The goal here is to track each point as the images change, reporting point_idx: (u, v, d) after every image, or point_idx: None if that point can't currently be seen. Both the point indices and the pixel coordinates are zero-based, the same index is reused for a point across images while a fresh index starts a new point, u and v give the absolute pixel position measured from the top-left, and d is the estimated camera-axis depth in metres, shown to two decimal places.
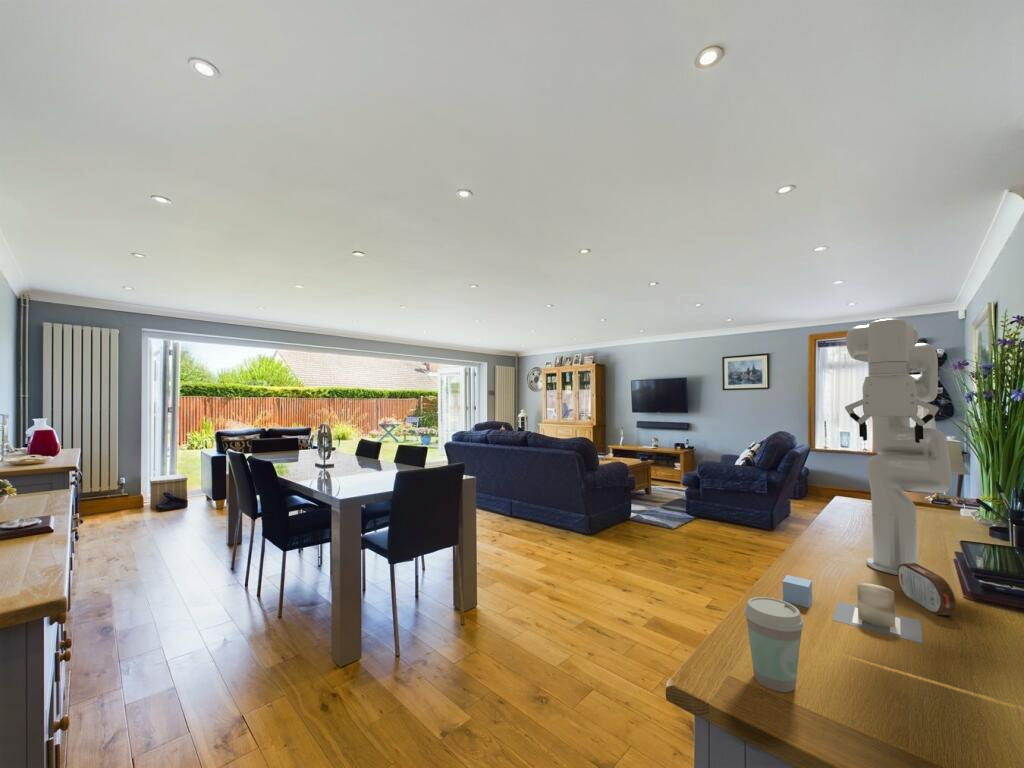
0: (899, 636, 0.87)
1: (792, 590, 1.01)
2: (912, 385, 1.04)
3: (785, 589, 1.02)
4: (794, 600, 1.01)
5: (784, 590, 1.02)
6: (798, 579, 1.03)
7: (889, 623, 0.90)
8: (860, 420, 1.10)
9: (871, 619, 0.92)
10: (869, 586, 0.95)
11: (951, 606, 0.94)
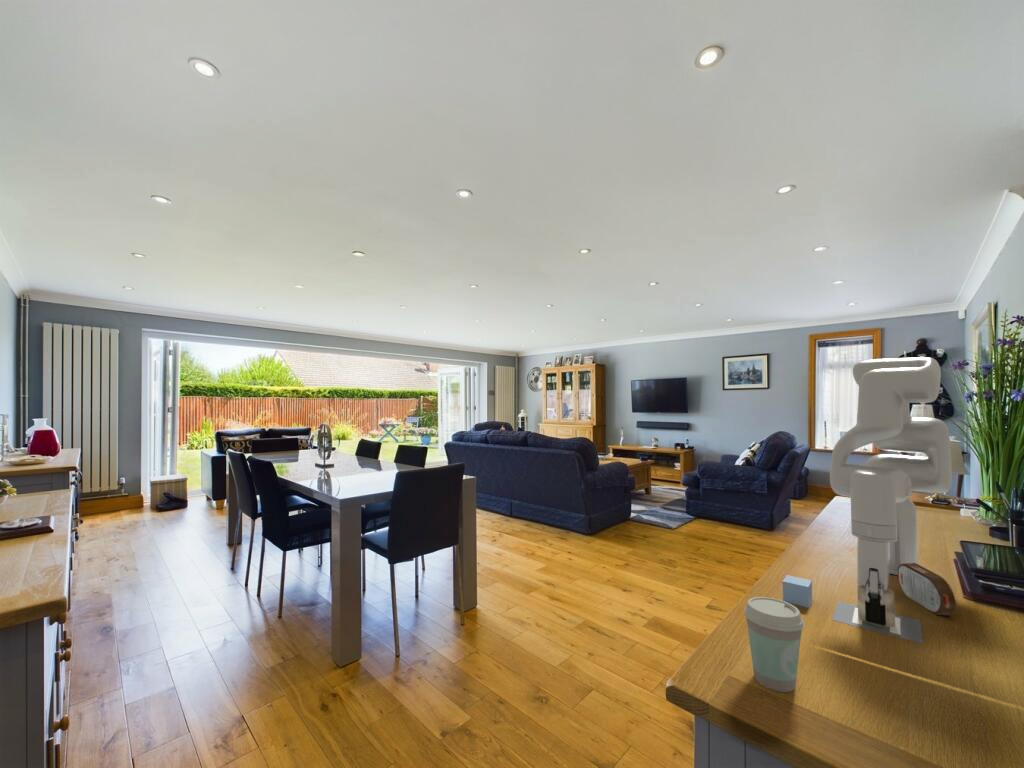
0: (899, 636, 0.87)
1: (792, 590, 1.01)
2: None
3: (785, 589, 1.02)
4: (794, 600, 1.01)
5: (784, 590, 1.02)
6: (798, 579, 1.03)
7: (889, 623, 0.90)
8: (882, 601, 0.90)
9: None
10: None
11: (951, 606, 0.94)
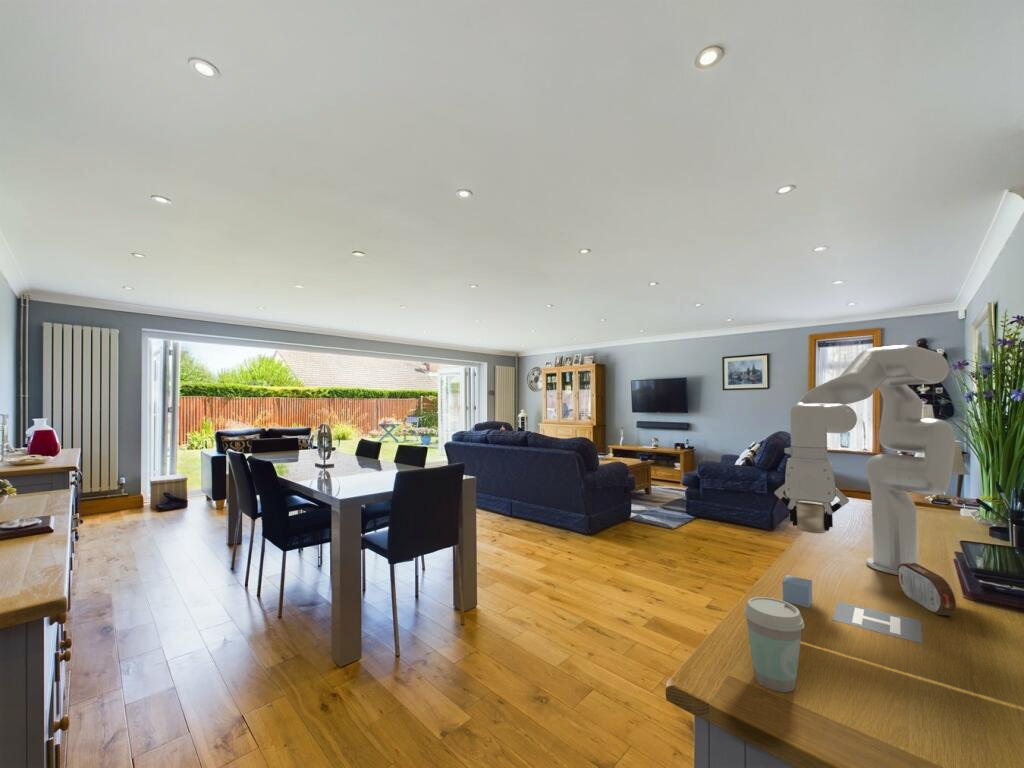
0: (899, 636, 0.87)
1: (792, 590, 1.01)
2: None
3: (785, 589, 1.02)
4: (794, 600, 1.01)
5: (784, 590, 1.02)
6: (798, 579, 1.03)
7: None
8: None
9: (824, 528, 1.08)
10: (804, 503, 1.10)
11: (951, 606, 0.94)
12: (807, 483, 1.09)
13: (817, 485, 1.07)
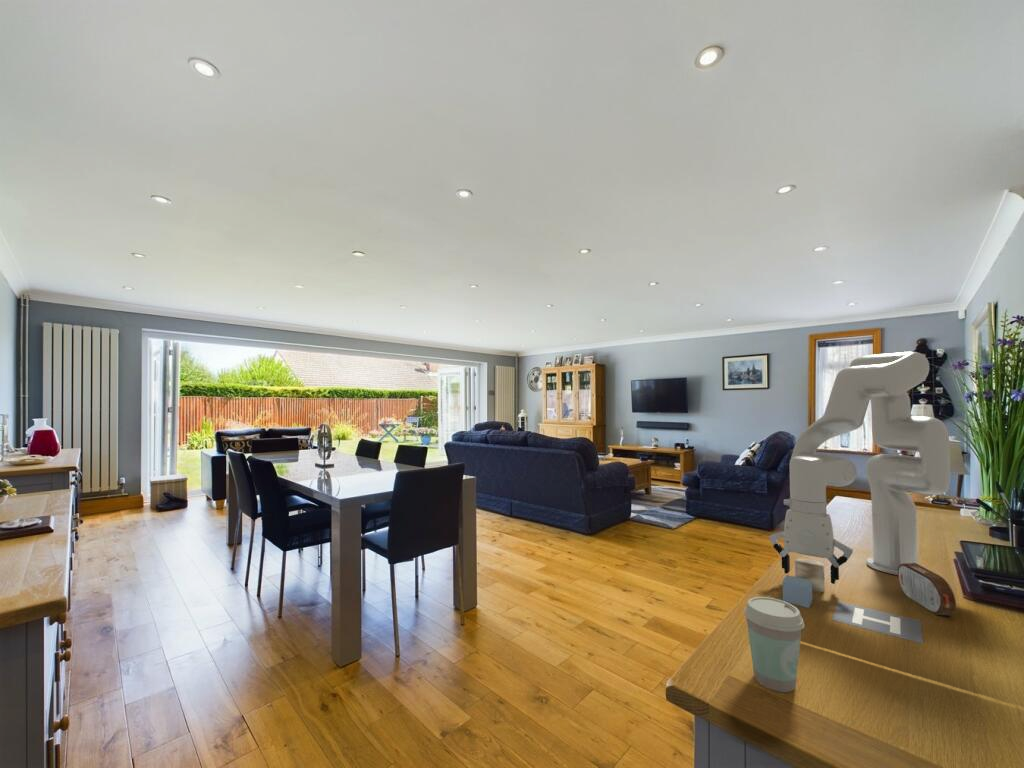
0: (899, 636, 0.87)
1: (792, 590, 1.01)
2: None
3: (785, 589, 1.02)
4: (794, 600, 1.01)
5: (784, 590, 1.02)
6: (798, 579, 1.03)
7: None
8: None
9: (823, 589, 1.08)
10: (803, 562, 1.10)
11: (951, 606, 0.94)
12: (806, 537, 1.09)
13: (816, 540, 1.07)
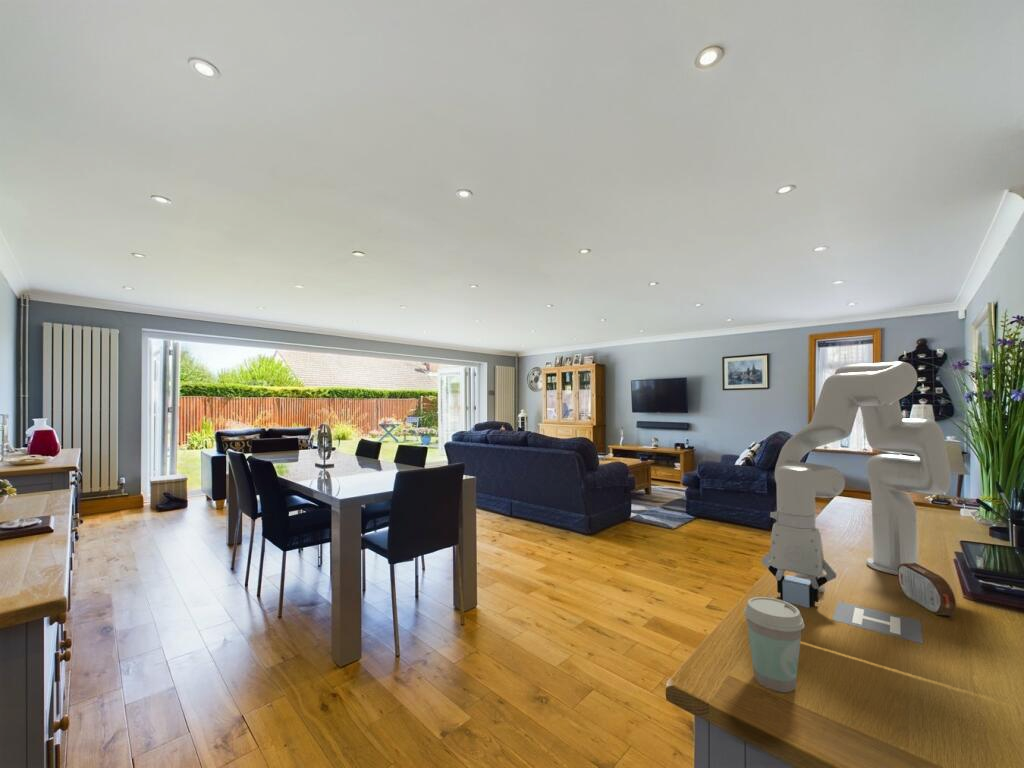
0: (899, 636, 0.87)
1: (792, 590, 1.01)
2: None
3: (785, 589, 1.02)
4: (794, 600, 1.01)
5: (784, 590, 1.02)
6: (798, 579, 1.03)
7: None
8: None
9: (823, 589, 1.08)
10: None
11: (951, 606, 0.94)
12: (793, 554, 1.01)
13: (804, 556, 1.00)
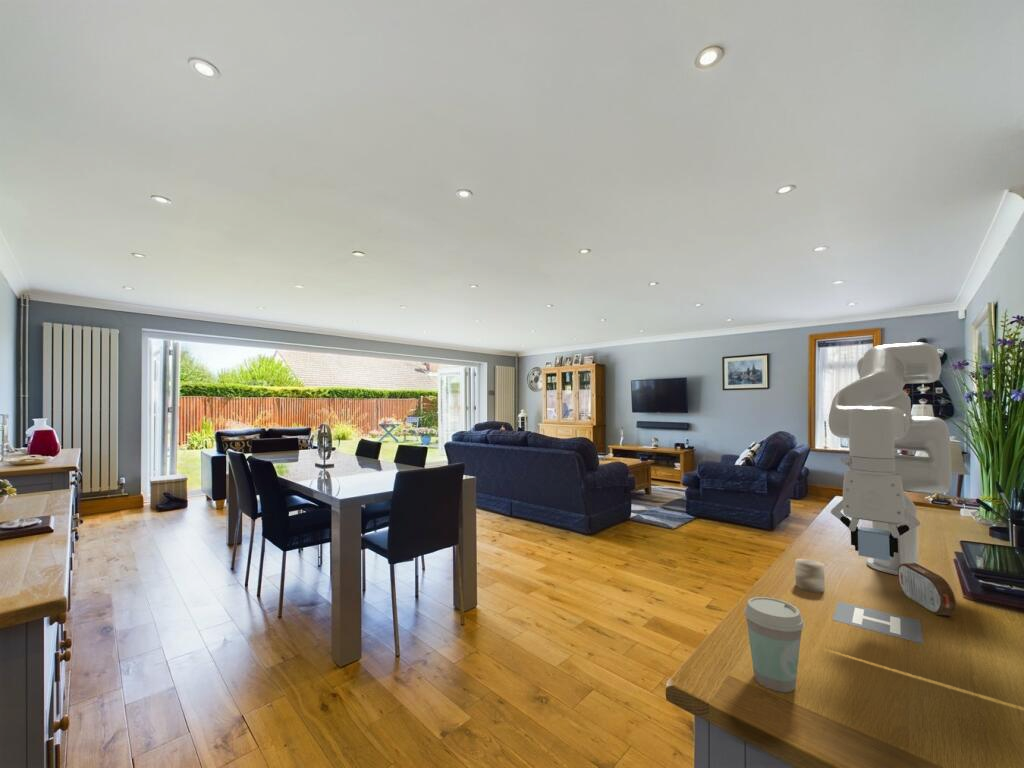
0: (899, 636, 0.87)
1: (869, 540, 0.93)
2: None
3: (861, 540, 0.93)
4: (872, 551, 0.92)
5: (860, 541, 0.94)
6: (874, 530, 0.95)
7: None
8: None
9: (823, 589, 1.08)
10: (803, 562, 1.10)
11: (951, 606, 0.94)
12: (871, 500, 0.92)
13: (884, 503, 0.91)
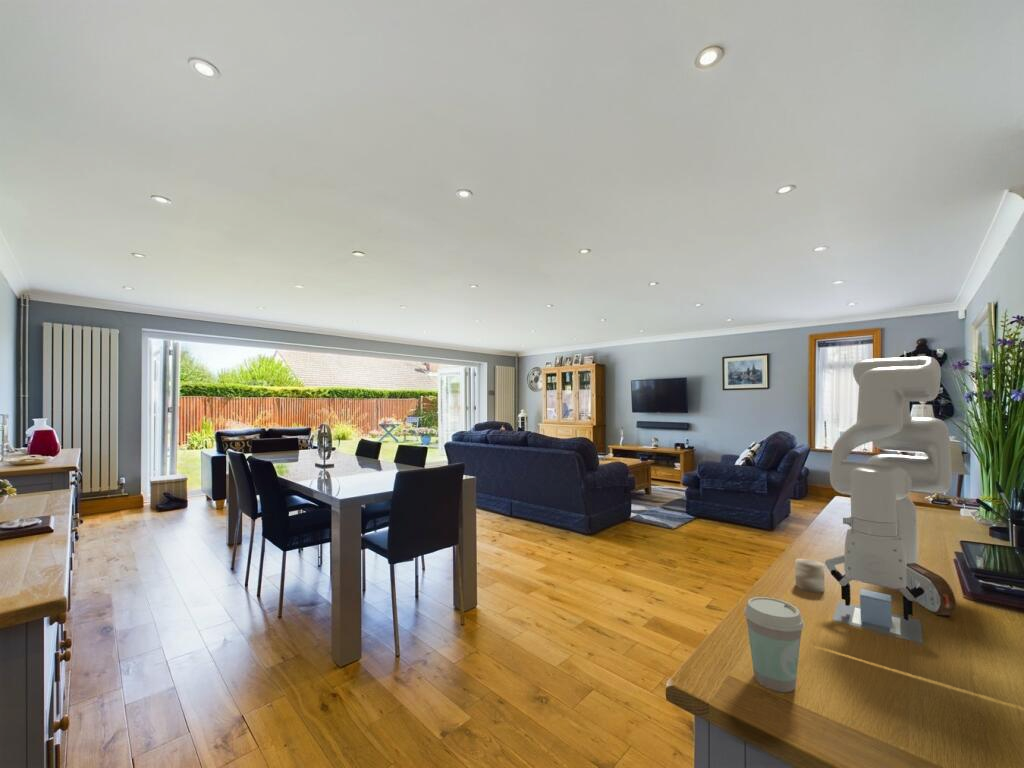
0: (899, 636, 0.87)
1: (872, 606, 0.92)
2: None
3: (863, 605, 0.93)
4: (874, 618, 0.92)
5: (862, 606, 0.93)
6: (876, 594, 0.94)
7: None
8: None
9: (823, 589, 1.08)
10: (803, 562, 1.10)
11: (951, 606, 0.94)
12: (872, 564, 0.92)
13: (885, 567, 0.91)
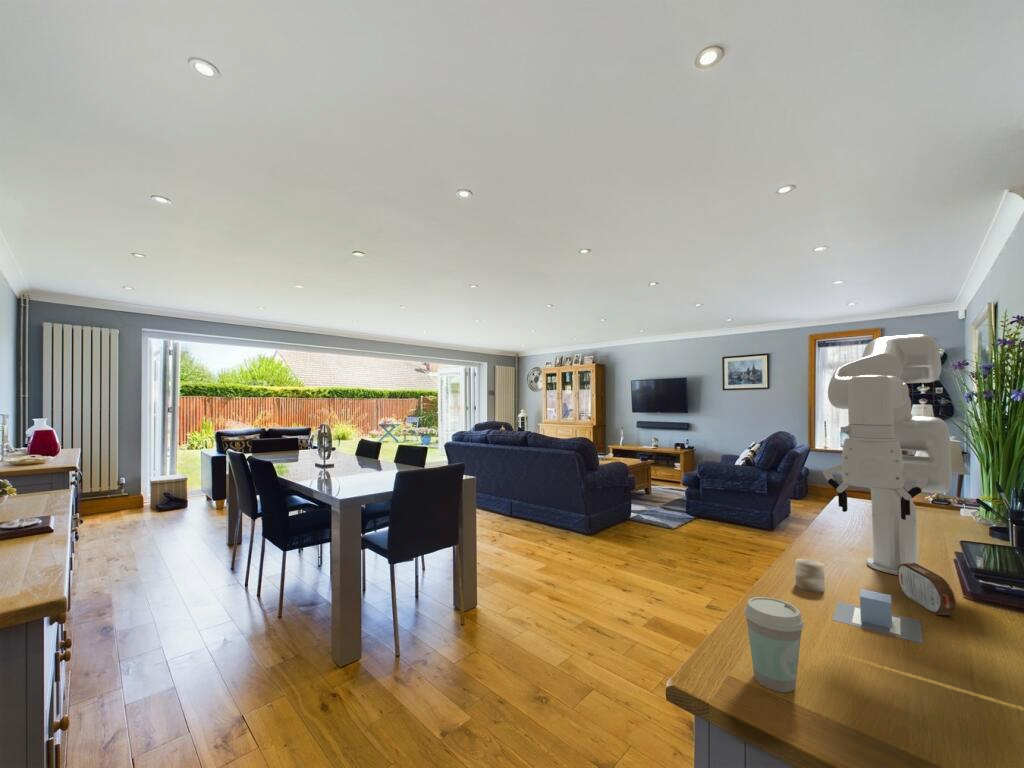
0: (899, 636, 0.87)
1: (872, 606, 0.92)
2: None
3: (863, 605, 0.93)
4: (874, 618, 0.92)
5: (862, 606, 0.93)
6: (876, 594, 0.94)
7: None
8: None
9: (823, 589, 1.08)
10: (803, 562, 1.10)
11: (951, 606, 0.94)
12: (870, 467, 0.93)
13: (883, 469, 0.91)
